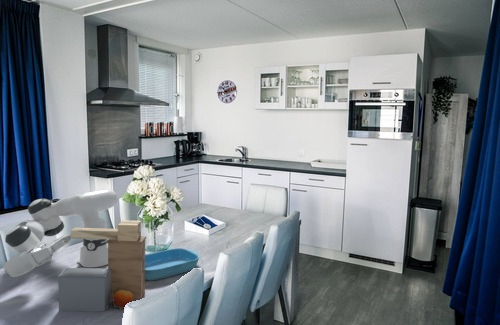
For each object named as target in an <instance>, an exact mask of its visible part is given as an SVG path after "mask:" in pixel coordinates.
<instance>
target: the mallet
mask: <svg viewBox="0 0 500 325" xmlns="http://www.w3.org/2000/svg"><path fill="white" fill-rule="evenodd" d="M70 235H71V238H73V239H74V240H75V239H76V240H77V239H78V240H79V239H80V240H83V239H108V240H109V239H114V240H118V241H137V240H138V239H139V238H140V237H141V236H142V220H127V219H125V220H123V219H122V220H121V221H120V222H119V223H118V224H117V228H106V229H102V228H84V227H74V228H72V229H70Z"/></svg>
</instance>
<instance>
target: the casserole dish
mask: <svg viewBox="0 0 500 325" xmlns="http://www.w3.org/2000/svg"><path fill="white" fill-rule="evenodd" d="M199 259H200V255H199V252H197V251H196V250H193V249H187V248H183V247H182V248H181V247H178V248H177V247H176V248H171V249H165V250H160V251H155V252H152V253H145V281H156V280H162V279H166V278H168V277H173V276H176V275H180V273H181V274H184V273H187V272H190V271H192V270H194V269H195V268H196V267H197V265H198V262H199ZM193 268H194V269H193ZM191 269H192V270H191ZM183 272H184V273H183Z"/></svg>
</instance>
